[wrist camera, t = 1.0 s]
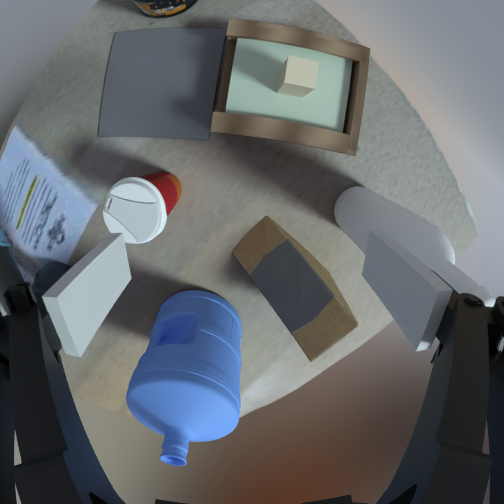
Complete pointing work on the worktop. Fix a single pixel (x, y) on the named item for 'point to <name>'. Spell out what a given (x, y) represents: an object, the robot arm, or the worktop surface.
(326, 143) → the walnut box
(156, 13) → the supplement container
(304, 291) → the sandwich container
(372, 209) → the bottle
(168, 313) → the water jug
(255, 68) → the cover plate
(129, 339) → the worktop surface
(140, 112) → the charcoal mat
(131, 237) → the paper cup
